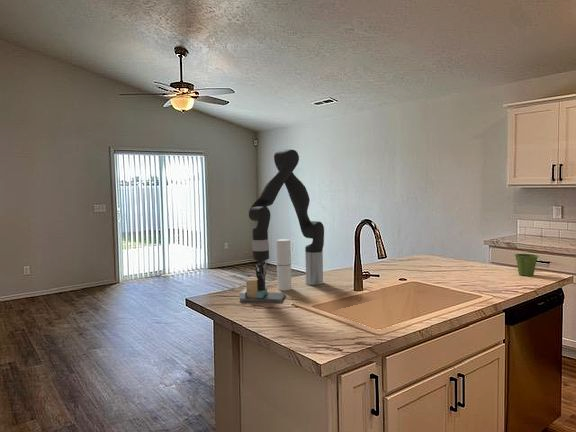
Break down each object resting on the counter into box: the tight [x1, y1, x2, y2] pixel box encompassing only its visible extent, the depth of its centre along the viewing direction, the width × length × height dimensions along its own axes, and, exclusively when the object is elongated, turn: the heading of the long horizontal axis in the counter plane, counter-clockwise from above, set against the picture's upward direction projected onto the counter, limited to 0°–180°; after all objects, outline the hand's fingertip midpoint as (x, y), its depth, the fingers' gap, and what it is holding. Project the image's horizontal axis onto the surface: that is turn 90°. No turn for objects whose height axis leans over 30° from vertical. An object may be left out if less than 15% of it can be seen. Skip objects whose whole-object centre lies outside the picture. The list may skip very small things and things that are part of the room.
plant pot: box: [514, 253, 540, 277], centre depth 240 cm, size 12×12×11 cm
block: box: [245, 276, 259, 298], centre depth 202 cm, size 8×5×8 cm, turn 171°
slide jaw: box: [257, 274, 268, 298], centre depth 201 cm, size 11×3×10 cm, turn 170°
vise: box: [239, 287, 286, 304], centre depth 202 cm, size 12×19×4 cm, turn 80°
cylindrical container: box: [275, 238, 292, 291], centre depth 219 cm, size 7×7×25 cm
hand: (262, 285), depth 201 cm, fingers closed on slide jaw, 3 cm apart
